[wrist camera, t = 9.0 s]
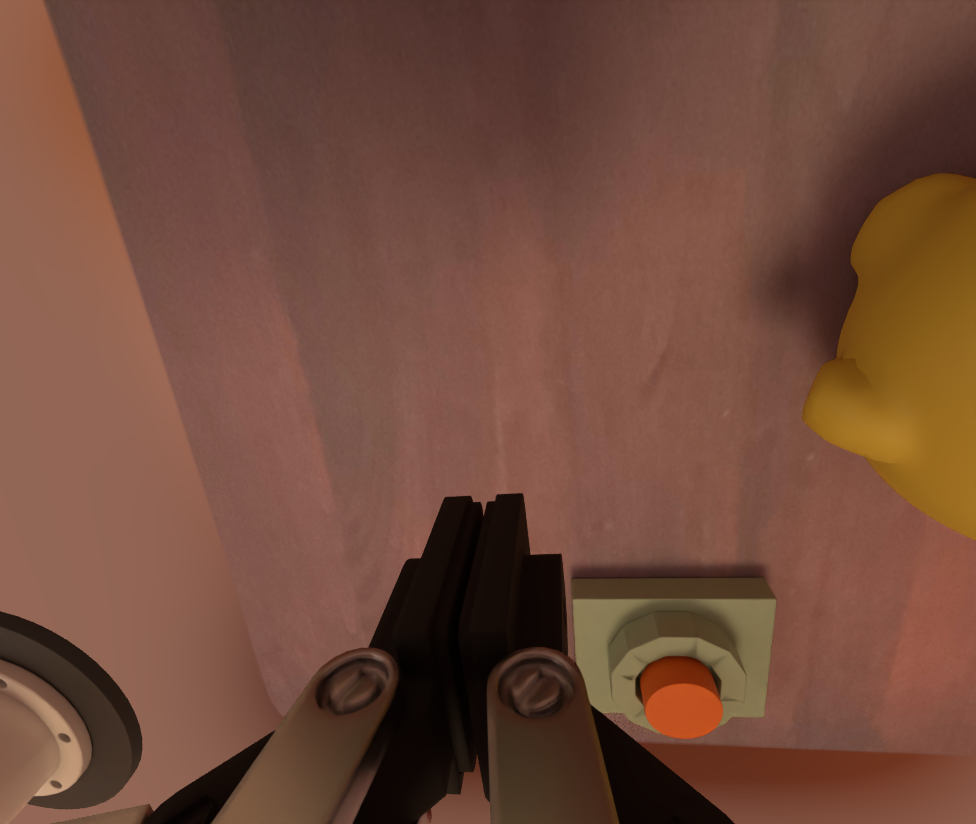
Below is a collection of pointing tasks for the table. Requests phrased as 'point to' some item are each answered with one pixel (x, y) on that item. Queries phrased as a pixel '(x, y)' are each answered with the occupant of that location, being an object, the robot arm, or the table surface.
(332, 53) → the table surface
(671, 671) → the button
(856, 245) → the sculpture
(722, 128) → the table surface
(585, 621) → the control block
